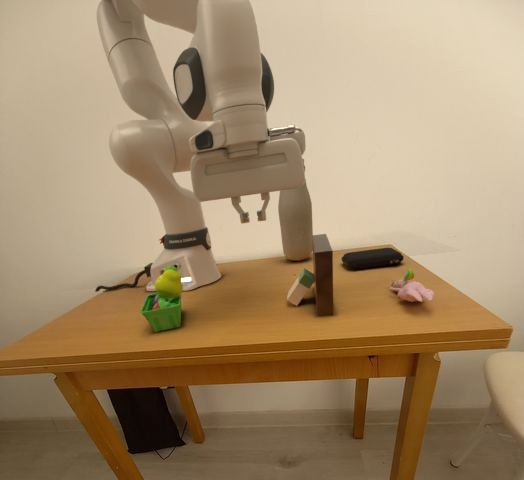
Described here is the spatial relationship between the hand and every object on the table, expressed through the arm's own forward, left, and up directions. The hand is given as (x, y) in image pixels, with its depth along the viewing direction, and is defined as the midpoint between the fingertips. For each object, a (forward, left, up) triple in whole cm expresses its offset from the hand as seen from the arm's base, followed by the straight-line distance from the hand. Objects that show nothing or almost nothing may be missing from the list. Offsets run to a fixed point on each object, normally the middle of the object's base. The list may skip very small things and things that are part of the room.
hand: (253, 221), depth 56 cm
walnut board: (+13, 0, -17) cm, 21 cm away
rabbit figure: (+29, -4, -17) cm, 34 cm away
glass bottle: (+7, +36, -17) cm, 41 cm away
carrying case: (+27, +23, -17) cm, 39 cm away
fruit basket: (-20, -5, -17) cm, 27 cm away
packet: (+8, 0, -17) cm, 19 cm away
